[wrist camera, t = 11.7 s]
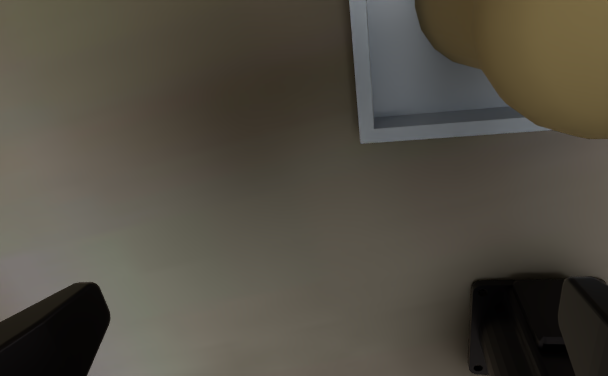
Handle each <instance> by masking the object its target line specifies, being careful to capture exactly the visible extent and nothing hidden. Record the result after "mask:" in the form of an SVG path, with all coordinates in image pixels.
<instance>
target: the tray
mask: <svg viewBox="0 0 608 376" xmlns="http://www.w3.org/2000/svg"><path fill="white" fill-rule="evenodd" d="M349 5H350V17H351V30H352V43H353V56H354V69H355V82H356V94H357V107H358V120H359V133H360V144H364V143H378V142H392V141H406V140H420V139H434V138H448V137H462V136H476V135H490V134H504V133H518V132H532V131H546V130H551V129H548V128H544V127H541V126H537V125H535V124H534V123H533V122H531V121H530V120H528V119H527V118H525V117H524V116H523V115H521V114H520V113H518V112H517V111H515V110H514V109H513V108H511V107H510V106H508V105H507V104H506V103H505V102H504V101H503V100H502V99H501V98H500V97H499V95H498V94H497V92H496V91H495V89H494V88H493V86H492V85H491V83H490V82H489V80H488V79H487V77H486V76H485V74H484V73H483V71H482V70H481V69H477V68H473V67H470V66H466V65H462V64H459V63H455V62H452V61H451V60H450V59H448V58H447V57H445V56H444V55H442V54H441V53H440V52H438V51H437V50H435V49H434V48H433V46H432V45H431V43H430V42H429V40H428V39H427V38H426V36H425V35H424V33H423V32H422V30H421V27H420V24H419V20H418V17H417V13H416V10H415V0H349Z"/></svg>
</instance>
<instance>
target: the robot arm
mask: <svg viewBox="0 0 608 376" xmlns="http://www.w3.org/2000/svg"><path fill="white" fill-rule="evenodd" d="M481 289H485V291H483V292H479V290H481ZM109 323H110V311H109V309H108V306H107V304H106V301H105V299H104V297H103V294H102V292H101V289H100V287H99V286H98V285H97V284H96V283H93V282H79V283H75V284H72V285H70V286H68V287H67V288H65V289H63V290H61V291H59V292H57V293H55V294H53V295H51V296H49V297H47V298H46V299H44V300H42V301H40V302H38V303H36V304H34V305H32V306H30V307H28V308H26V309H24V310H23V311H21V312H19V313H17V314H15V315H13V316H11V317H9V318H7V319H5V320H3V321H2V322H0V376H87V374H88V372H89V370H90V367H91V365H92V363H93V360H94V358H95V356H96V353H97V351H98V349H99V346H100V344H101V342H102V339H103V337H104V335H105V333H106V330H107V328H108V326H109ZM468 365H469V370H470V371H471V372H472V373H474V374H485V375H489V376H608V285H607V284H606V283H605V281H603V280H600V279H596V278H594V277H568V278H566V279H565V280H481V281H477V282H475V283H474V284H473V285H472V287H471V304H470V325H469V347H468ZM476 365H479V366H476Z"/></svg>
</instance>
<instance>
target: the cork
mask: <svg viewBox="0 0 608 376" xmlns="http://www.w3.org/2000/svg"><path fill="white" fill-rule="evenodd" d="M415 10H416V13H417V17H418V20H419V24H420V27H421V30H422V32H423V33H424V35H425V36H426V38H427V39H428V40H429V42H430V43H431V45H432V46H433V48H434V49H435V50H437V51H438V52H440V53H441V54H442V55H444V56H445V57H447V58H448V59H450V60H451V61H452V62H455V63H459V64H462V65H466V66H470V67H473V68H477V69H481V70H482V71H483V73H484V74H485V76H486V77H487V79H488V80H489V82H490V83H491V85H492V86H493V88H494V89H495V91H496V92H497V94H498V95H499V97H500V98H501V99H502V100H503V101H504V102H505V103H506V104H507V105H508V106H510V107H511V108H513V109H514V110H515V111H517V112H518V113H520V114H521V115H523V116H524V117H525V118H527V119H528V120H530V121H531V122H533V123H534V124H535V125H537V126H541V127H544V128H548V129H551V130H555V131H558V132H562V133H566V134H569V135H573V136H577V137H581V138H586V139H608V0H415Z"/></svg>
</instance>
